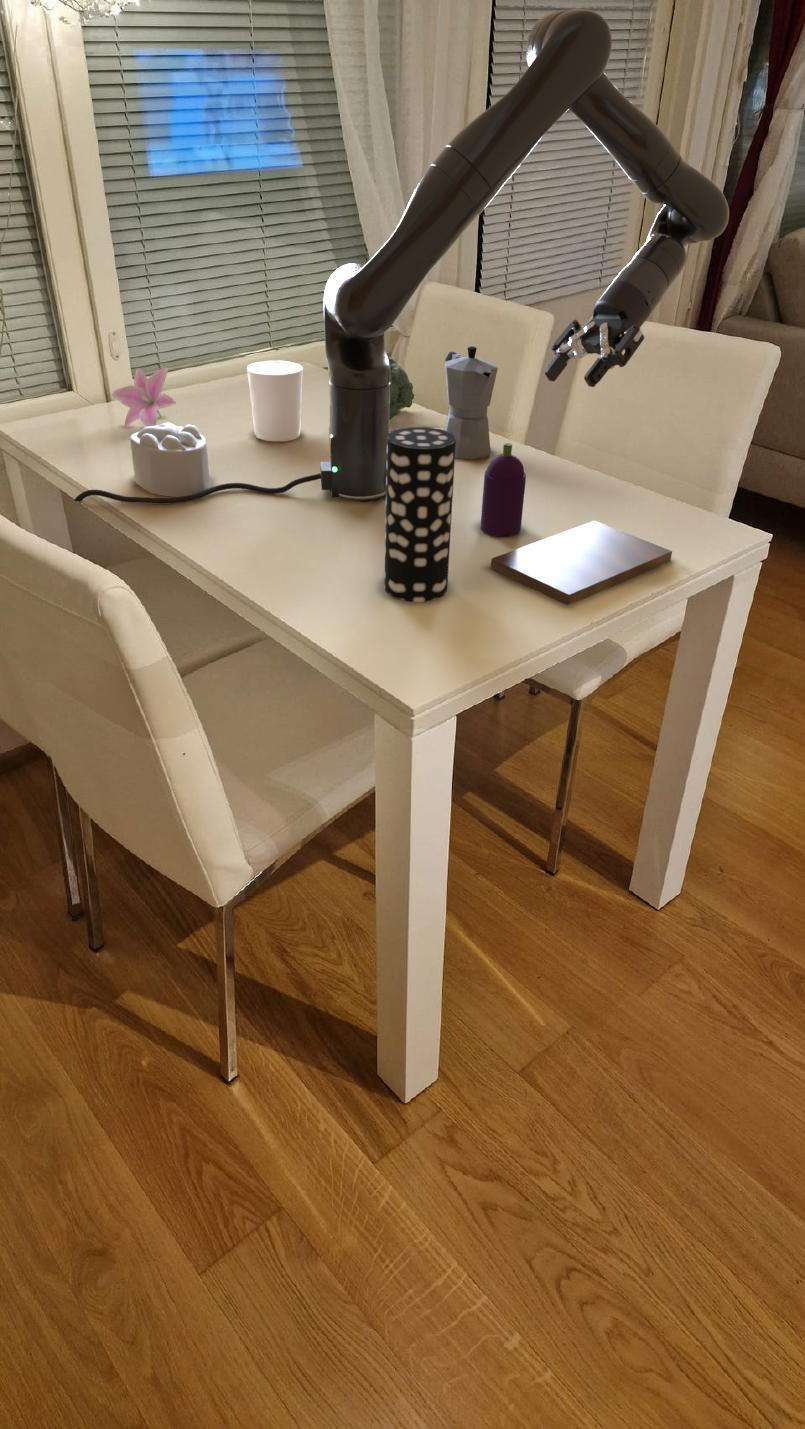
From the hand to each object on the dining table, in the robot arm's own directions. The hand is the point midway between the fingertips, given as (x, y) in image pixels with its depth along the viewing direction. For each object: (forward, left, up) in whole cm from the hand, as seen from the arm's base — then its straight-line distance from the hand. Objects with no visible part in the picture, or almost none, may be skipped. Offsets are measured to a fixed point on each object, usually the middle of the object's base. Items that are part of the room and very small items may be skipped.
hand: (567, 380), depth 147 cm
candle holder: (-44, +34, -19) cm, 58 cm away
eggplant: (-11, -11, -19) cm, 24 cm away
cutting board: (-2, -24, -19) cm, 31 cm away
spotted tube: (-26, -30, -19) cm, 44 cm away
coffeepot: (-11, +25, -19) cm, 33 cm away
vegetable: (-24, +44, -19) cm, 53 cm away
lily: (-68, +41, -19) cm, 81 cm away
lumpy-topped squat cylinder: (-60, +9, -19) cm, 64 cm away
